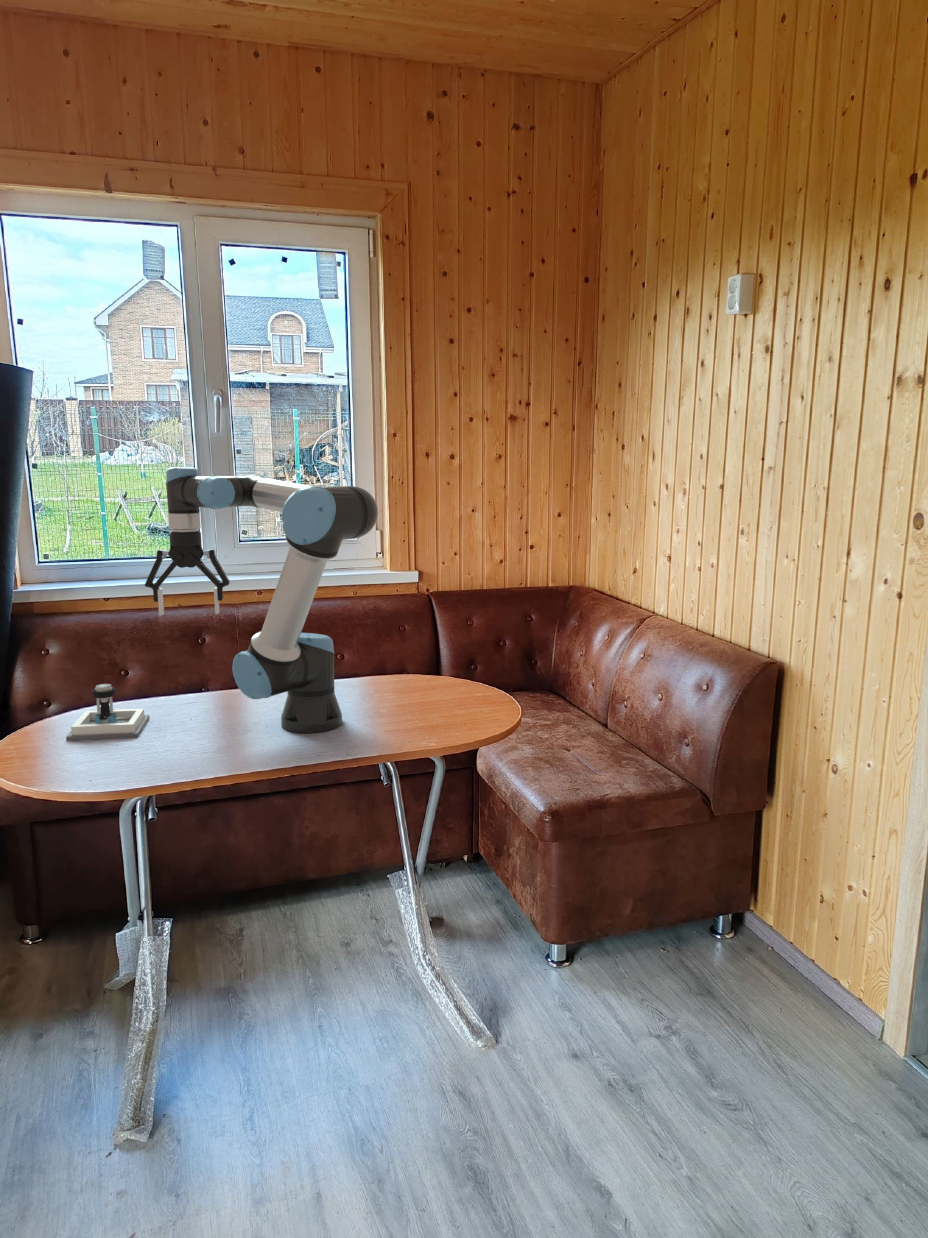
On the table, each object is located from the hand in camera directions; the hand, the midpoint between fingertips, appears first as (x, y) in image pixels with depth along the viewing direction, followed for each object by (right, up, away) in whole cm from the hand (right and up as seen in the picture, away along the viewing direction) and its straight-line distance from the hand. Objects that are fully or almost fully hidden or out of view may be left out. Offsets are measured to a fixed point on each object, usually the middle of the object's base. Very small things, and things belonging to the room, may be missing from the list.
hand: (189, 614), depth 215 cm
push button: (-17, -27, -7) cm, 33 cm away
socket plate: (-17, -28, -7) cm, 34 cm away
